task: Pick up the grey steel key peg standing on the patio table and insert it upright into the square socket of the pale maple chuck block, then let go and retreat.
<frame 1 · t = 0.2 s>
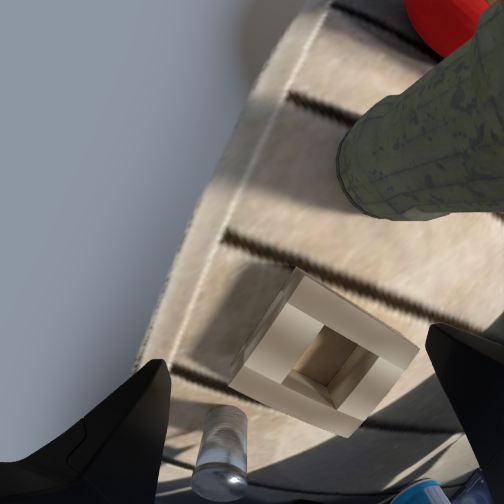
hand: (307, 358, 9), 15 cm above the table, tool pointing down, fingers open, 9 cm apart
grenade: (381, 169, 23), on the table
tomato: (435, 35, 22), on the table
small box: (468, 485, 28), on the table
chuck block: (320, 350, 25), on the table
beverage bottle: (412, 493, 28), on the table
key peg: (226, 420, 25), on the table
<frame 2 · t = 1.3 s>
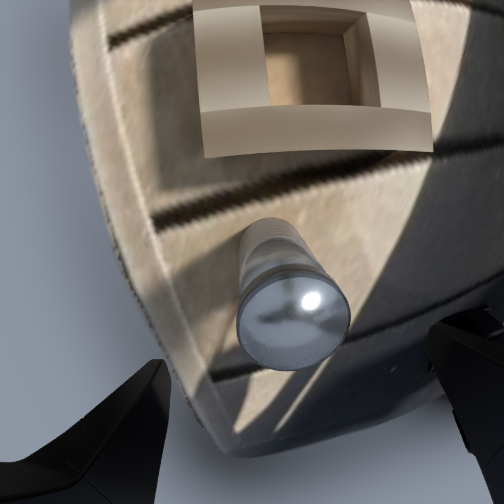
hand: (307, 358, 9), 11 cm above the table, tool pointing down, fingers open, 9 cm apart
chuck block: (305, 71, 15), on the table
key peg: (270, 248, 19), on the table
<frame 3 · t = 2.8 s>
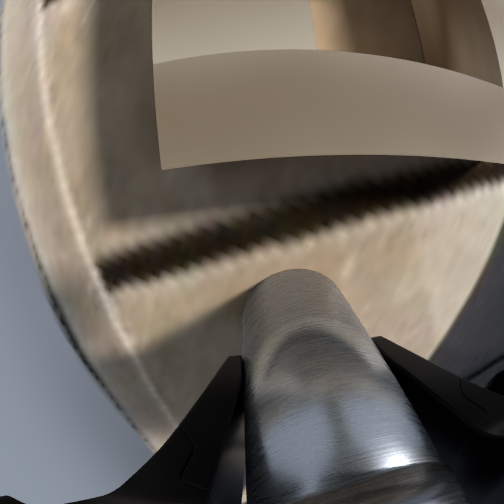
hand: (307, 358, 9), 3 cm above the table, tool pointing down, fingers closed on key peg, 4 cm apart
chuck block: (355, 21, 8), on the table
key peg: (294, 317, 11), on the table, touching gripper
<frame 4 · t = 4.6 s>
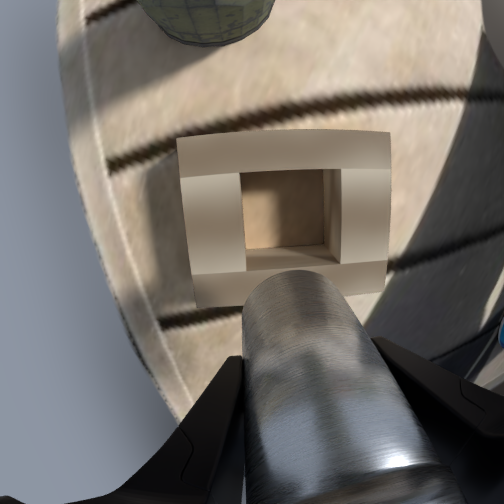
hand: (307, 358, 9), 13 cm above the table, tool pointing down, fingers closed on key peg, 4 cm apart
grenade: (212, 0, 15), on the table
chuck block: (284, 207, 20), on the table
key peg: (294, 318, 11), point 10 cm above the table, touching gripper
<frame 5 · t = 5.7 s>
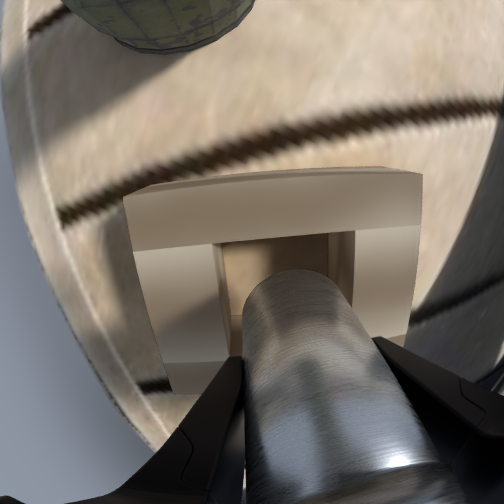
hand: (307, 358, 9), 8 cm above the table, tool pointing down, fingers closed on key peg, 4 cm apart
chuck block: (277, 265, 16), on the table
key peg: (294, 317, 11), point 5 cm above the table, touching gripper
when the fingers open (5 cm above the table, at t = 6.5 s): key peg drops 2 cm, resting in chuck block.
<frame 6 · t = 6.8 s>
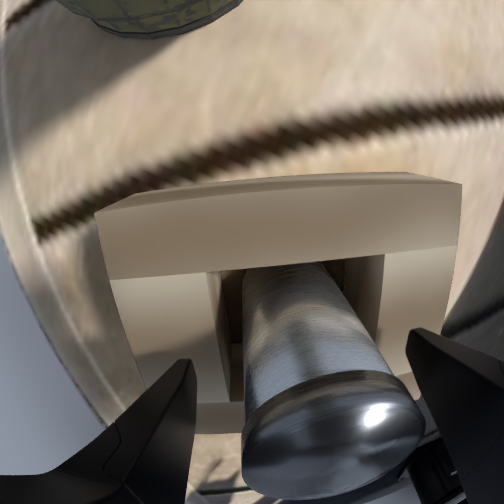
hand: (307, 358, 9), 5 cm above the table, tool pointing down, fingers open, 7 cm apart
chuck block: (285, 288, 13), on the table
key peg: (286, 289, 14), resting in chuck block
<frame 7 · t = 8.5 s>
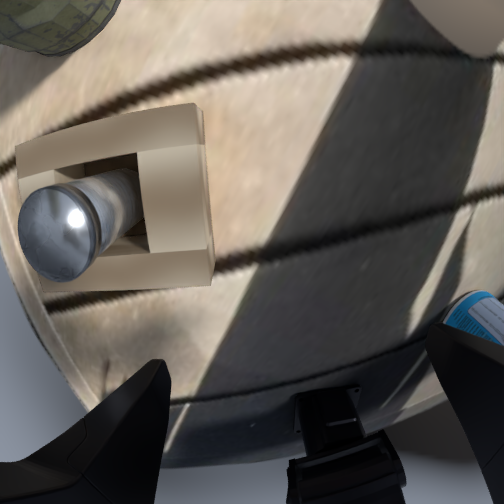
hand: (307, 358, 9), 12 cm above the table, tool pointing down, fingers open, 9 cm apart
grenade: (73, 10, 13), on the table
chuck block: (122, 197, 19), on the table
beverage bottle: (463, 322, 24), on the table
key peg: (123, 197, 19), resting in chuck block
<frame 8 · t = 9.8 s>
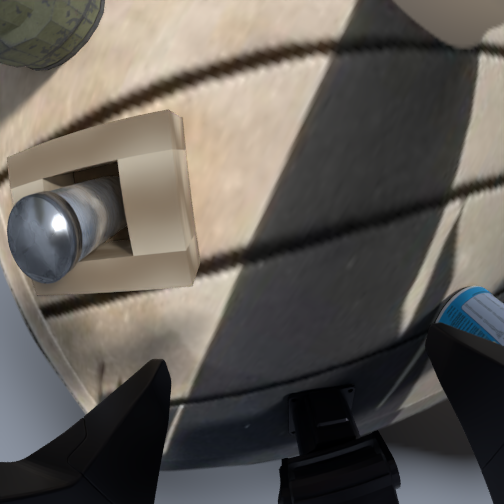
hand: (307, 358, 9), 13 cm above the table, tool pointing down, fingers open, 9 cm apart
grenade: (59, 25, 14), on the table
chuck block: (109, 203, 19), on the table
beverage bottle: (459, 319, 24), on the table
key peg: (110, 203, 19), resting in chuck block
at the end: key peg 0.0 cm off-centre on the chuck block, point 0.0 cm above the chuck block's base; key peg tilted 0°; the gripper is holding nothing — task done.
